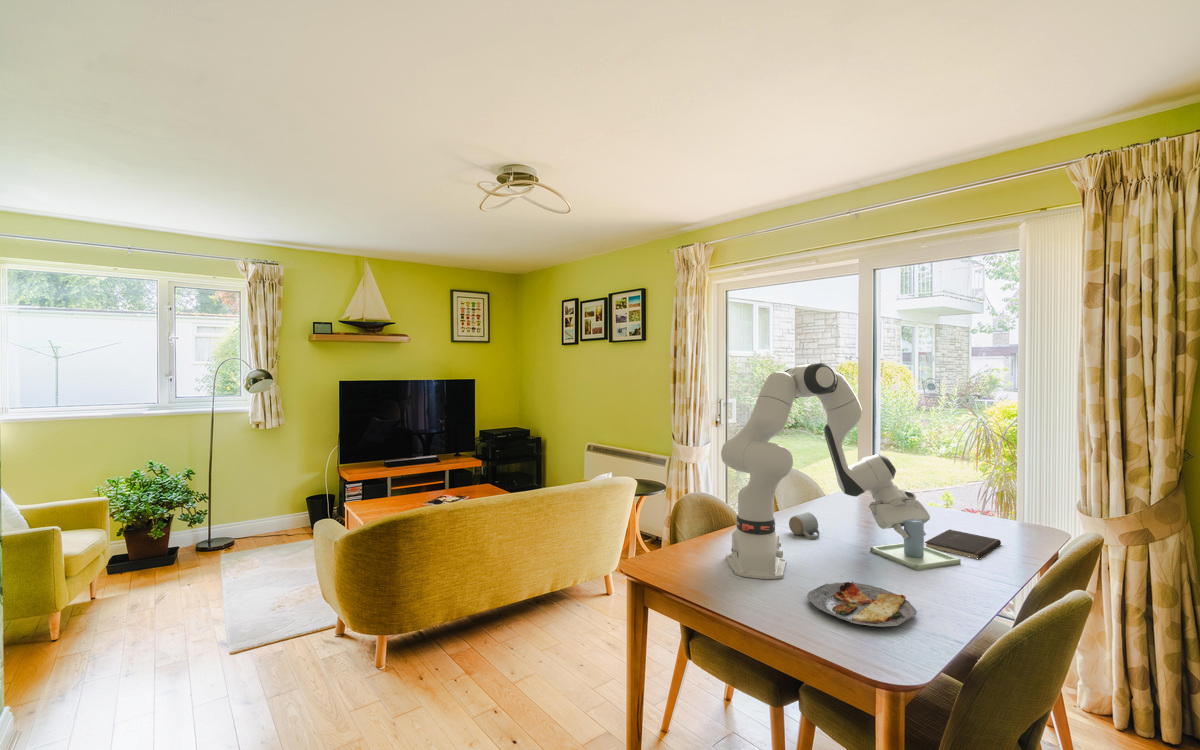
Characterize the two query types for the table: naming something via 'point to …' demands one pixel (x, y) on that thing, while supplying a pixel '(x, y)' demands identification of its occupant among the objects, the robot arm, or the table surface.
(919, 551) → the grey cylinder
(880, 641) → the table surface
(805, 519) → the ceramic mug
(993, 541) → the hardcover book
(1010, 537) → the table surface
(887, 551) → the tray
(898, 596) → the food plate
